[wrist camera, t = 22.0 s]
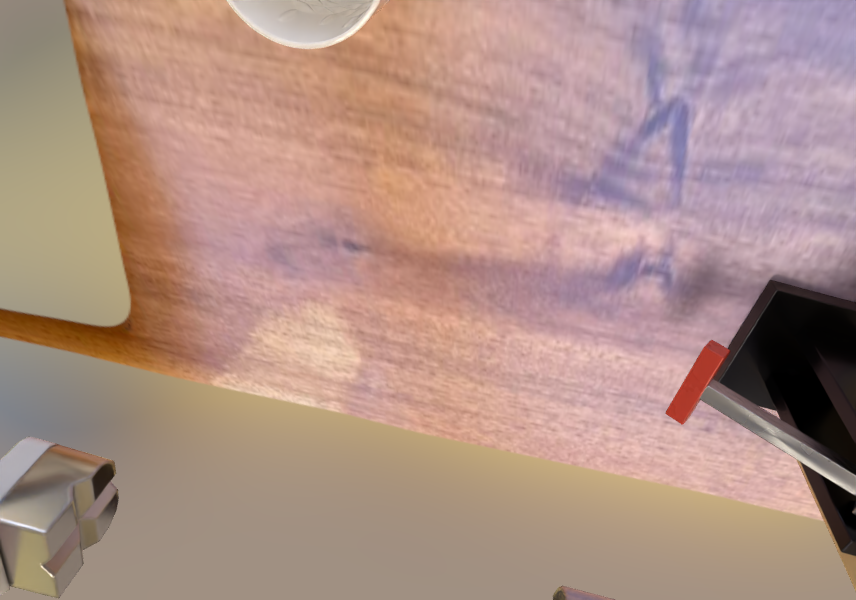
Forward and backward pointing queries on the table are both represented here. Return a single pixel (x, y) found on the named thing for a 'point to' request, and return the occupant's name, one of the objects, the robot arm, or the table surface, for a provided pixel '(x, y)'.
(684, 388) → the lever
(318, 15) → the white cup
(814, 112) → the table surface
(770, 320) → the bracket
